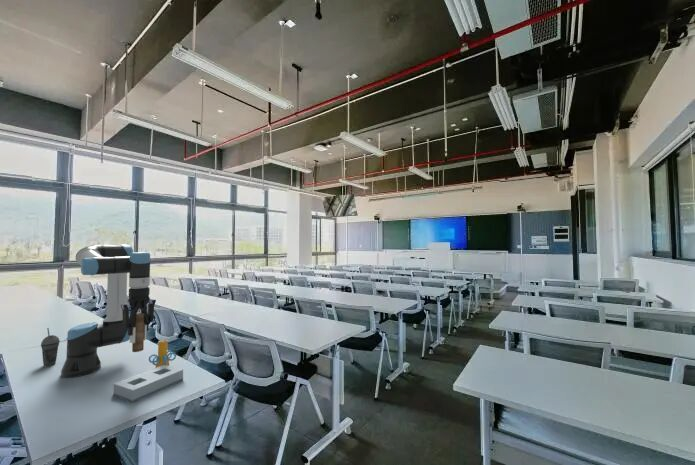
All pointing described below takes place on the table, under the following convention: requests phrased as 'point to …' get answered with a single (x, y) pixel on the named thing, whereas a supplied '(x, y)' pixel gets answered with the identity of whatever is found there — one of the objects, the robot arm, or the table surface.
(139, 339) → the pin
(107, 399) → the table surface
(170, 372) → the hole block
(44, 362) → the beverage cup
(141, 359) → the table surface
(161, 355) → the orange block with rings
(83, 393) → the table surface
